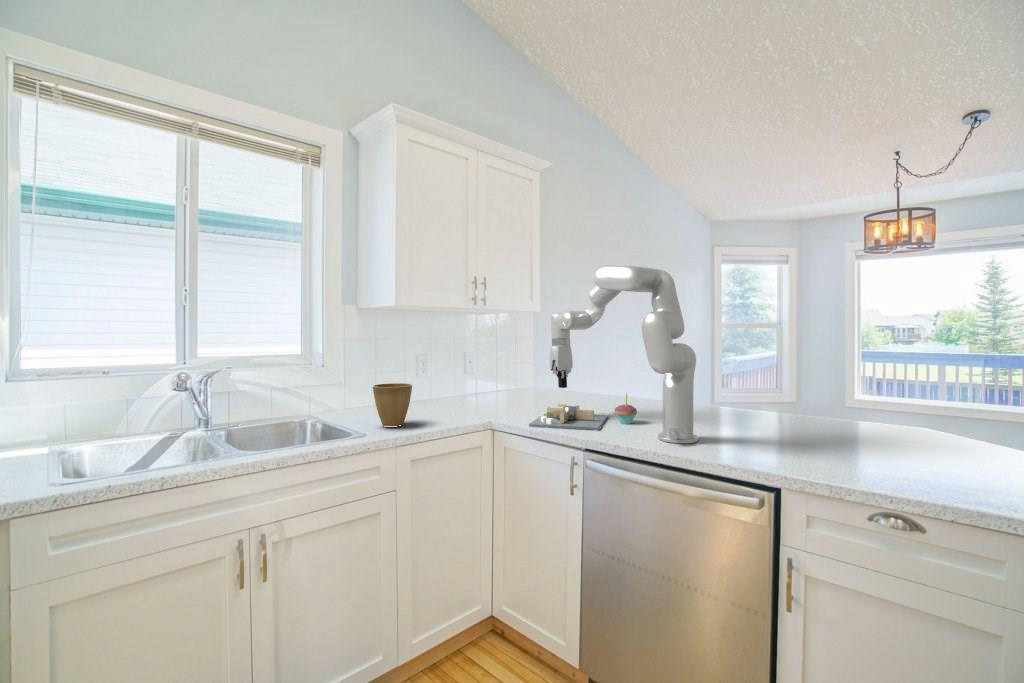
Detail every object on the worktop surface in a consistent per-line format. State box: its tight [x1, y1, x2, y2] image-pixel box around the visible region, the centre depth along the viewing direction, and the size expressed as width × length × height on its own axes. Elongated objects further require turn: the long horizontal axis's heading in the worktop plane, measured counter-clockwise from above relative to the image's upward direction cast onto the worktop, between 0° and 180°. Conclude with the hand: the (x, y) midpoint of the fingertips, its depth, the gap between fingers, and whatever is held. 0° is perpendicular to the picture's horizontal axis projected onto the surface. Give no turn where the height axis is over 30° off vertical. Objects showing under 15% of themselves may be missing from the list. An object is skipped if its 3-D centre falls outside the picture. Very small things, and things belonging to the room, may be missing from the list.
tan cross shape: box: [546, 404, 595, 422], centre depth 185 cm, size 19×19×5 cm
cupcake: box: [614, 392, 638, 425], centre depth 181 cm, size 9×8×12 cm
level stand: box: [528, 410, 609, 431], centre depth 185 cm, size 26×26×3 cm
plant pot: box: [372, 382, 413, 427], centre depth 181 cm, size 15×15×16 cm
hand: (562, 387), depth 192 cm, fingers closed
